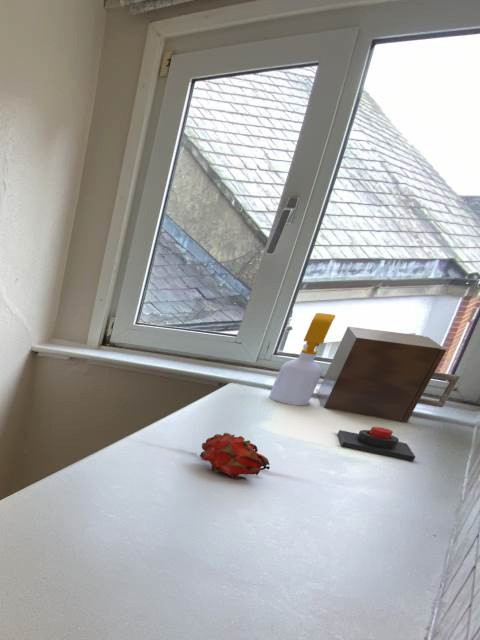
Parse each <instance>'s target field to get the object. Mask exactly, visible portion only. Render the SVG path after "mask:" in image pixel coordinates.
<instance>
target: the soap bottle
mask: <svg viewBox="0 0 480 640" xmlns="http://www.w3.org/2000/svg"><path fill="white" fill-rule="evenodd" d="M335 318H336V314H332V313H321V312H315V315H314V317H313V318H312V320H311V322H310V324H309V327H308V329H307V332H306V334H305V337H304V339H303V342H306V343H305V345H306V346H307V347H306V349H301V351H300V354H299V355H298V357H297V358H294V359H291V360H288V361H286V362H284V363H283V364H282V366H280V369H279V371H278V373H277V376H276V379H275V381H274V383H273V385H272V388H271V390H270V392H269V394H268V397H269V399H271V400H273V401H276V402H279V403H284V404H286V405H287V404H288V405H292V406H293V405H294V406H308V404H309V403H310V400H311V398H312V396H313V394H314V392H315V389H316V387H317V385H318V383H319V380H320V378H321V377H322V374H323V368H321V366H320V365H319V364H318V363H317V362H316V361H315V358H316V356H317V354H318V352H317V351H315V349H316V347H319V346H320V345H323V344H324V343H325V339H326V337H327V334H328V332H329V330H330V329H331V325H332V324H333V321H334V320H335Z"/></svg>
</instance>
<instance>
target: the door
mask: <svg viewBox="0 0 480 640" xmlns="http://www.w3.org/2000/svg"><path fill="white" fill-rule="evenodd" d="M424 337H425V338H426V339H428V340H429V341H431V342H432V343H434V344H435V345H436V346H438V347H439V348H441V350H440V351H439V353H438V355H437V357H436V359H435V361H434V362H433V364H432V366H431V368H430V370H429V372H428V373H427V375H426V377H425V379H424V381H423V383H422V384H421V386H420V388H419V390H418V392H417V394H416V395H415V397H414V399H413V401H412V403H411V405H410V406H409V408H408V410H407V412H406V414H405V416H404V417H403V419H402V421H401V423H406V424H407V423H408V421H409V419H410V418H411V416H412V414H413V413H414V411H415V409H416V408H417V405H418V404H419V405H424V406H425V405H426V406H430V407H438V408H443V407H444V406H445V404H446V403H447V401H448V399H449V397H450V395H451V393H452V392H453V390H454V389H455V387H456V386H457V383H458V381H459V380H460V378H461V375H457V374H451V373H445V372H437V371H436V370H437V369H438V368H439V366H440V364H441V361H442V360H443V358H444V357H445V354H446V352H447V351H448V350H447V349H446V348H445V347H443V346H442V345H440V344H439V343H437V342H436V341H434V340H433V339H432V338H431V337H429V336H424ZM432 378H434V379H441V380H446V381H449V382H448V384H447V386H446V388H445V389H444V391H443V393H442V394H441V396H440V398H439V400H435V399H430V398H429V399H428V398H423V397H422V396H423V394H424V392H425V391H426V389H427V387H428V385H429V383H430V382H431V380H432Z"/></svg>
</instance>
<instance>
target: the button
mask: <svg viewBox="0 0 480 640" xmlns="http://www.w3.org/2000/svg"><path fill="white" fill-rule="evenodd" d="M369 430H370V432H369V434H370V435H372V436H375V437H379V438H384V439H390V437H391V435H393V433H394V431H393V430H392V429H389V428H385V427H381V426H371V428H370V429H369Z"/></svg>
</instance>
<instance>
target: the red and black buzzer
mask: <svg viewBox="0 0 480 640" xmlns="http://www.w3.org/2000/svg"><path fill="white" fill-rule="evenodd" d="M370 430H371V429H362V430H359V432H353V431H347V430H342V429H339V430H338V433H337V434H336V436H337V438H338V443H339V445H340V447H341V448H343V449H349V450H354V451H358V452H363V453H369V454H372V455H377V456H383V457H387V458H390V459H391V458H392V459H395V460H396V459H397V460H401V461H405V462H410V463H413V462H414V460H415V458H416V455H415V453H414V452H413V450H412V449H411V448H410V446H409V445H408V443H407V442H403V441H400V439H399V438H398V437H397V436H395V435H393V434H392V435H391V437H390V439H384V438H379V437H375V436H372V435H370V434H369V432H370Z"/></svg>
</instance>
